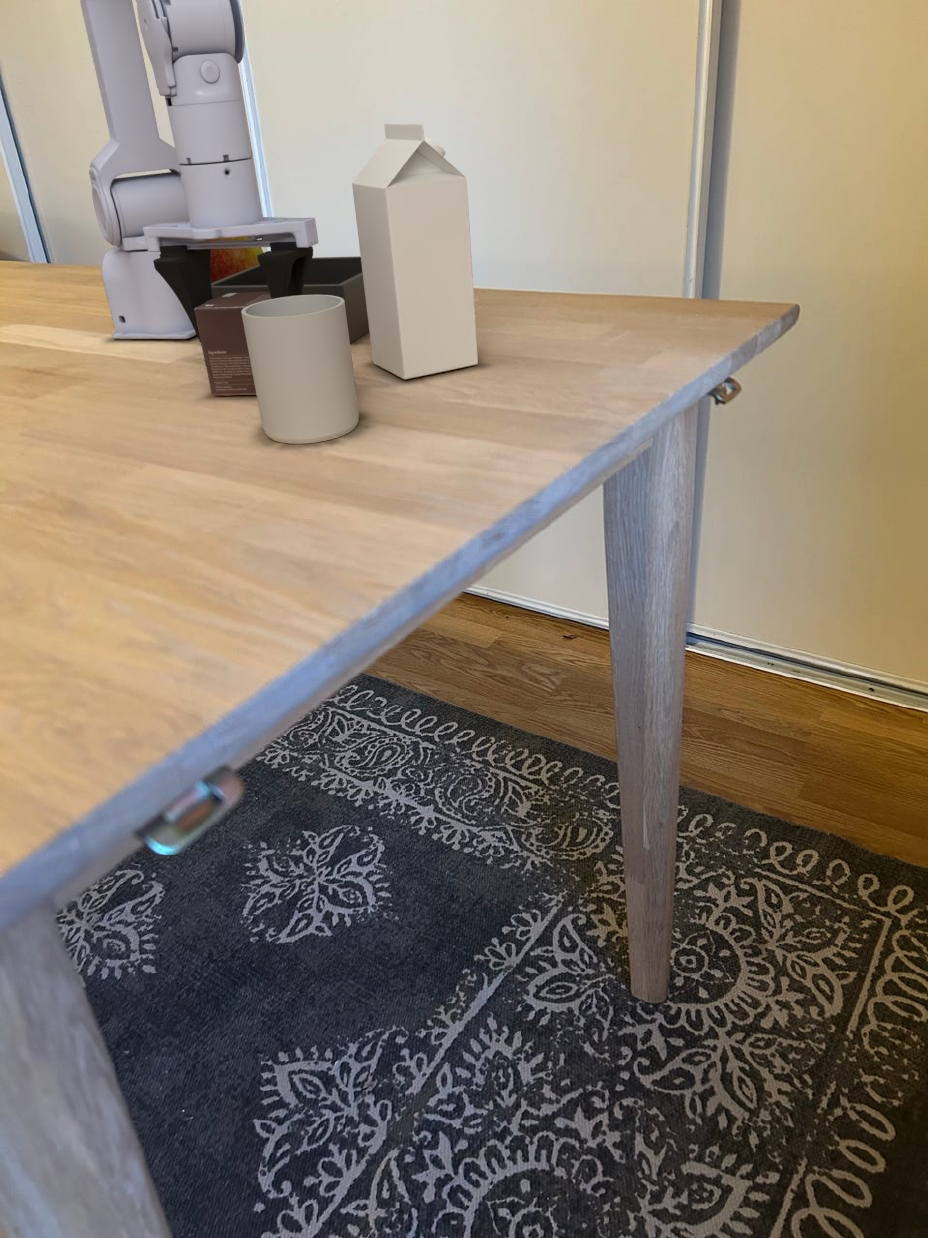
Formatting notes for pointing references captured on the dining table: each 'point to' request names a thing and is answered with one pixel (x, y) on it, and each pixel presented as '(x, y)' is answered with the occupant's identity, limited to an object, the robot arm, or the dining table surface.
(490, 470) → the dining table surface
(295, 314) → the cup
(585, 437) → the dining table surface
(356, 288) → the dark grey square container
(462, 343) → the milk carton
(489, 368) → the dining table surface
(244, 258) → the fruit
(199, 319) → the box
